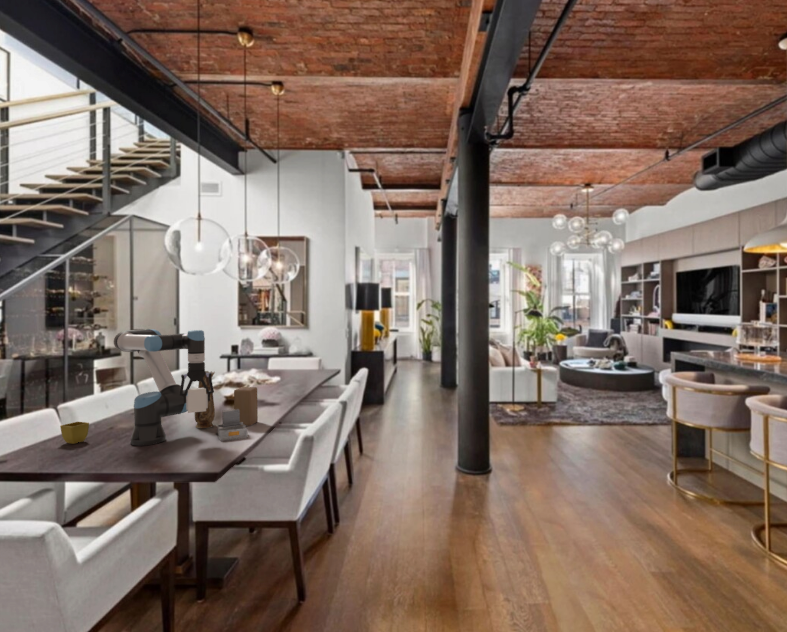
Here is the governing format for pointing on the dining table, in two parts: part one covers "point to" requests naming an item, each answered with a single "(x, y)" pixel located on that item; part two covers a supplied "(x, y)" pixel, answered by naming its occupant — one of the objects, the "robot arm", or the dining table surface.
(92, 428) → the dining table surface
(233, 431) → the frame
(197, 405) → the panel
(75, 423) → the flower pot
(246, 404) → the block
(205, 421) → the vase
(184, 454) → the dining table surface
